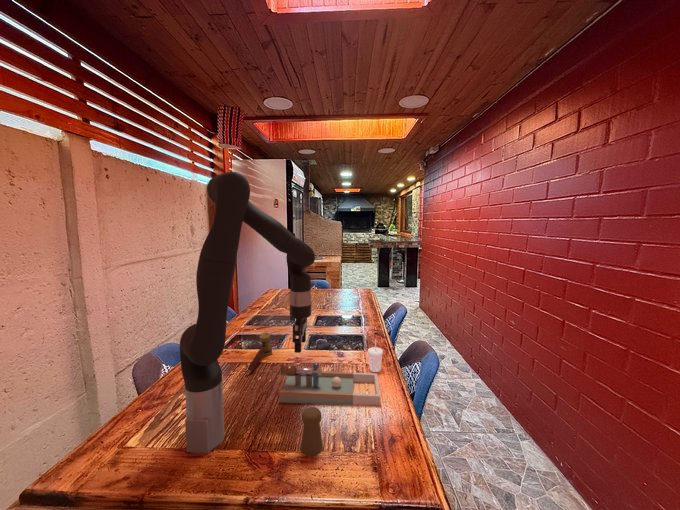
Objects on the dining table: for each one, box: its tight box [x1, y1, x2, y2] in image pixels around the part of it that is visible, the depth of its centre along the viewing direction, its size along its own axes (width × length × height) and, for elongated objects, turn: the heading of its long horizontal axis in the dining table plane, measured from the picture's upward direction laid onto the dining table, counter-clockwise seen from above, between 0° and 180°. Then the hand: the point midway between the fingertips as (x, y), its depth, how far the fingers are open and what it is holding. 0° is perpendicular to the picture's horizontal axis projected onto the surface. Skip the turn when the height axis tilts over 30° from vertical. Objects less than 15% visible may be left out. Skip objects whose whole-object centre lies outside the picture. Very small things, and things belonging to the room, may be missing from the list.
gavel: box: [246, 332, 273, 376], centre depth 119 cm, size 21×5×10 cm, turn 171°
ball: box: [332, 377, 341, 387], centre depth 99 cm, size 4×4×4 cm
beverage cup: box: [367, 338, 384, 373], centre depth 113 cm, size 6×6×14 cm
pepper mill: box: [300, 406, 324, 457], centre depth 74 cm, size 6×6×11 cm
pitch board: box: [278, 370, 381, 406], centre depth 99 cm, size 14×34×7 cm, turn 87°
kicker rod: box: [280, 362, 323, 387], centre depth 99 cm, size 3×14×8 cm, turn 87°
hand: (300, 346), depth 98 cm, fingers open, 8 cm apart
